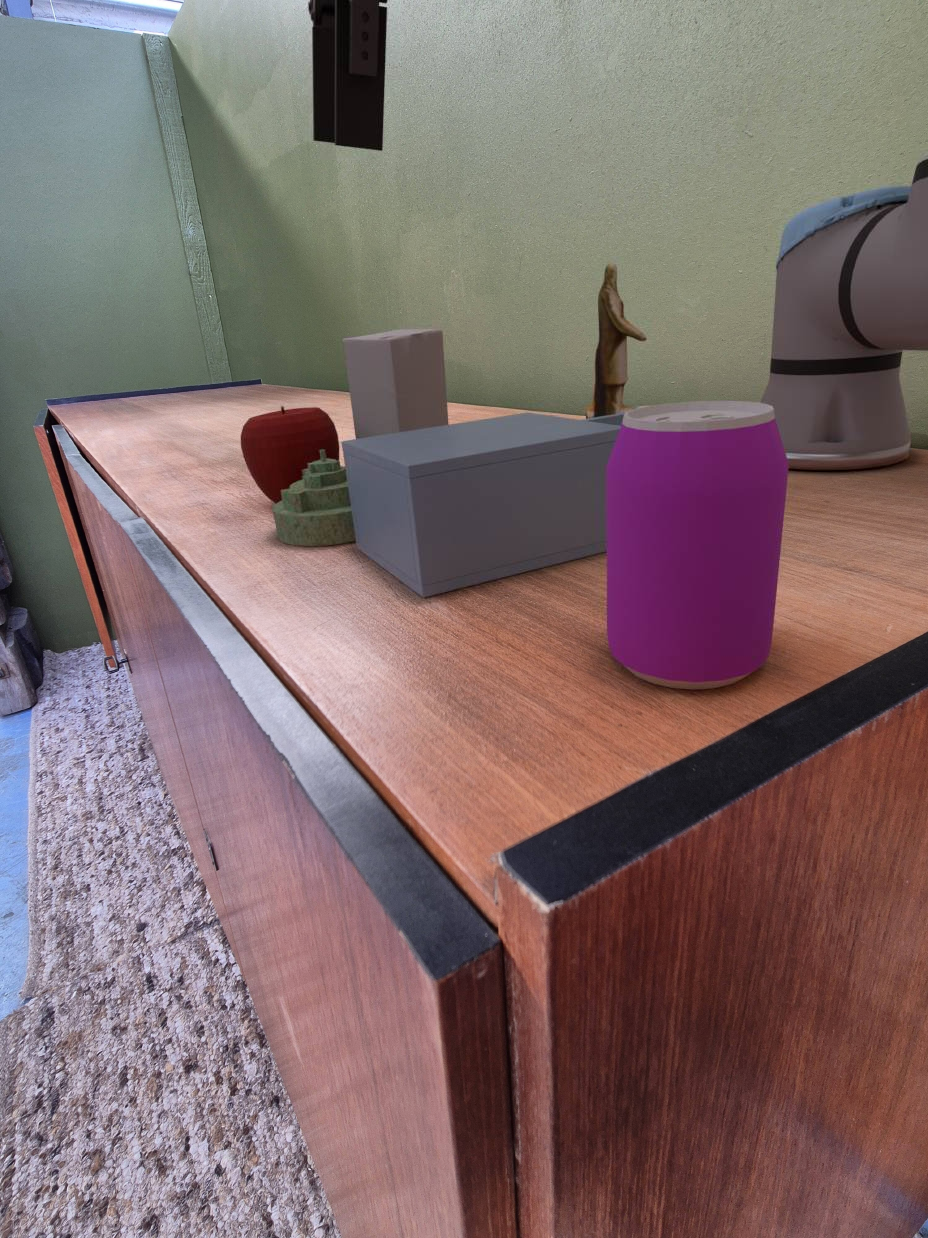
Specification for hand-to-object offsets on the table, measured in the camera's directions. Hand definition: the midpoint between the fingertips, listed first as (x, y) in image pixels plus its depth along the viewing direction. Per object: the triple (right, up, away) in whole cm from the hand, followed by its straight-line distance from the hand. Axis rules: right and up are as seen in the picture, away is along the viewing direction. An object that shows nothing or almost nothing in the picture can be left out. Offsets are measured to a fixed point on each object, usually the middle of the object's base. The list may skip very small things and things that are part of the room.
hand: (344, 145), depth 47 cm
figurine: (+24, -16, +28) cm, 41 cm away
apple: (-9, -20, +27) cm, 34 cm away
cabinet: (+10, -26, +8) cm, 29 cm away
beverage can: (+19, -34, -12) cm, 40 cm away
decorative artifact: (-4, -24, +17) cm, 29 cm away
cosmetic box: (+2, -18, +28) cm, 34 cm away
